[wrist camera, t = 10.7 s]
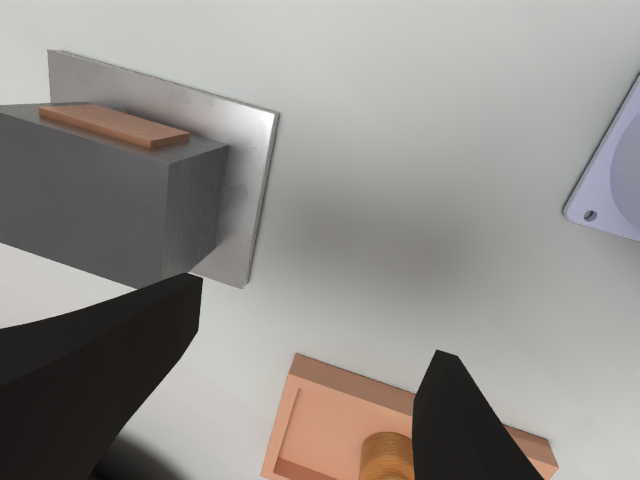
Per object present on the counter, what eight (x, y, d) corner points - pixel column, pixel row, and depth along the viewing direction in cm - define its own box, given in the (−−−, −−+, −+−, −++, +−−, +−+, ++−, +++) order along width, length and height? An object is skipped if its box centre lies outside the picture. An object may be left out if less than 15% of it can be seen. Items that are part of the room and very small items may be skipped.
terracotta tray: (547, 439, 22) (559, 467, 20) (477, 530, 26) (482, 559, 24) (296, 353, 23) (288, 373, 22) (268, 452, 27) (259, 475, 26)
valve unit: (279, 113, 18) (226, 124, 12) (247, 282, 22) (197, 346, 17) (53, 48, 19) (-87, 32, 13) (64, 222, 23) (-40, 263, 18)
